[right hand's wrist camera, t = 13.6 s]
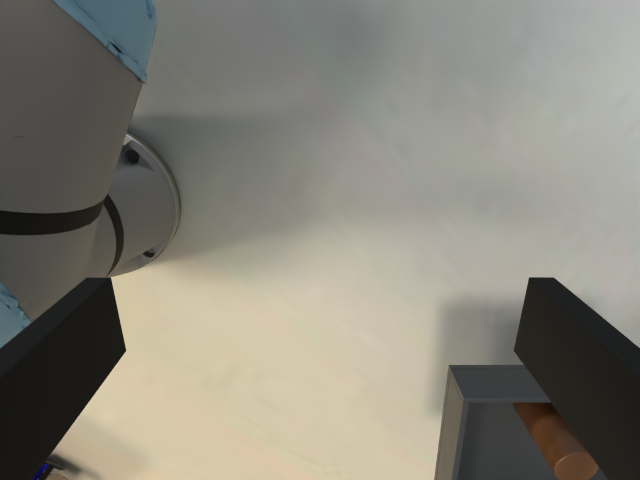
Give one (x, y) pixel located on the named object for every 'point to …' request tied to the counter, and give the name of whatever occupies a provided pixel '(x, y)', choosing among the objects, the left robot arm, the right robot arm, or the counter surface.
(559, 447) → the peg
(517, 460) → the tray
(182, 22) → the counter surface
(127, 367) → the counter surface
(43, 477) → the figurine character
